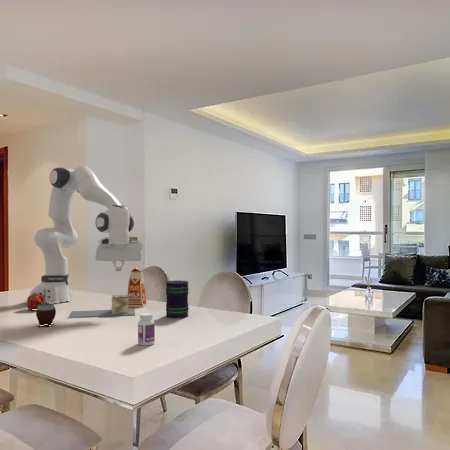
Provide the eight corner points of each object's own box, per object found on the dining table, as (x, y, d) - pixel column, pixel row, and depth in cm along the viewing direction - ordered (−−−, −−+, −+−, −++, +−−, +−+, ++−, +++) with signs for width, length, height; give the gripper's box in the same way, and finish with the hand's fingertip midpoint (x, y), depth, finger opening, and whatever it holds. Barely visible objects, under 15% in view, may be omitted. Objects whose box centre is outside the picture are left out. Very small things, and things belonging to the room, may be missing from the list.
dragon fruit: (35, 310, 205) (40, 318, 195) (20, 302, 201) (24, 309, 191) (47, 296, 207) (52, 303, 197) (32, 287, 203) (36, 293, 193)
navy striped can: (184, 318, 178) (184, 283, 178) (162, 317, 180) (162, 282, 180) (191, 314, 188) (191, 280, 188) (170, 313, 190) (170, 280, 190)
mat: (67, 318, 179) (67, 317, 179) (71, 312, 193) (71, 311, 193) (134, 315, 186) (134, 314, 186) (134, 309, 199) (134, 308, 199)
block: (128, 296, 188) (127, 313, 188) (128, 294, 195) (128, 310, 195) (111, 297, 187) (111, 313, 187) (112, 295, 194) (112, 311, 194)
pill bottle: (155, 341, 140) (155, 312, 141) (153, 345, 135) (153, 315, 135) (139, 341, 140) (139, 312, 140) (136, 346, 135) (136, 315, 135)
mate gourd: (48, 323, 170) (48, 285, 170) (60, 325, 166) (61, 286, 166) (31, 326, 163) (31, 287, 164) (44, 328, 159) (44, 289, 160)
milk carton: (143, 307, 207) (143, 266, 207) (124, 307, 207) (124, 266, 207) (147, 304, 216) (147, 264, 216) (129, 303, 216) (129, 264, 216)
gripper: (142, 240, 197) (141, 270, 197) (96, 239, 192) (95, 270, 192) (142, 240, 191) (142, 271, 191) (95, 240, 186) (94, 271, 186)
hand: (118, 270), depth 191 cm, fingers closed
